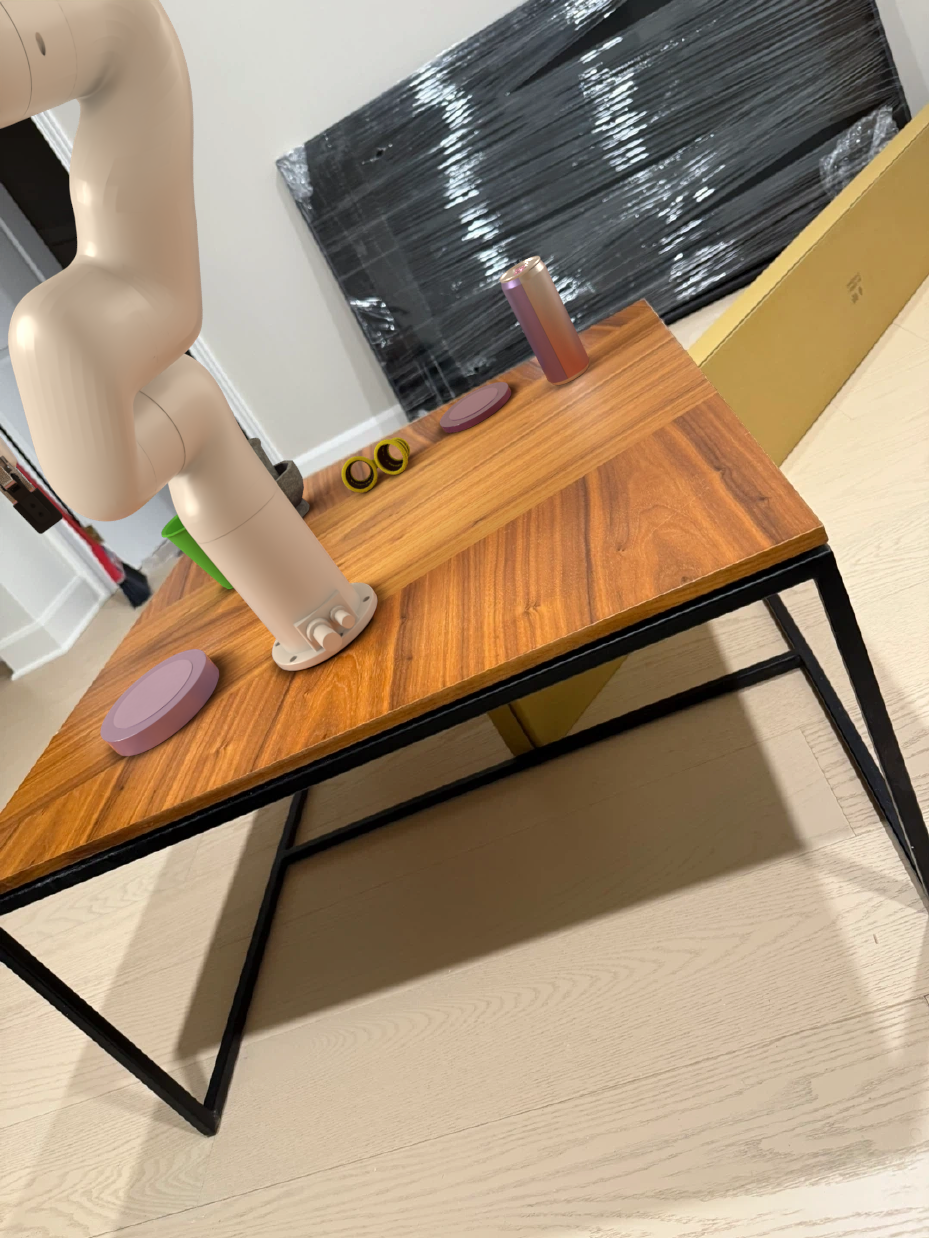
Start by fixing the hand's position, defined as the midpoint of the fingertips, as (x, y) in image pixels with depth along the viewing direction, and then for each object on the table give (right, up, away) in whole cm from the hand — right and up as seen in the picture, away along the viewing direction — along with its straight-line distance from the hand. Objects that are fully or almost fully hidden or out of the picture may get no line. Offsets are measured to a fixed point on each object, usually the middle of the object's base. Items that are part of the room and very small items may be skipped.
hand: (51, 525), depth 93 cm
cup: (+15, -5, +21) cm, 27 cm away
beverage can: (+60, +22, +17) cm, 66 cm away
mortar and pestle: (+21, +5, +31) cm, 37 cm away
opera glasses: (+35, +9, +23) cm, 43 cm away
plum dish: (+48, +19, +25) cm, 57 cm away
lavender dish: (+13, -20, 0) cm, 24 cm away
